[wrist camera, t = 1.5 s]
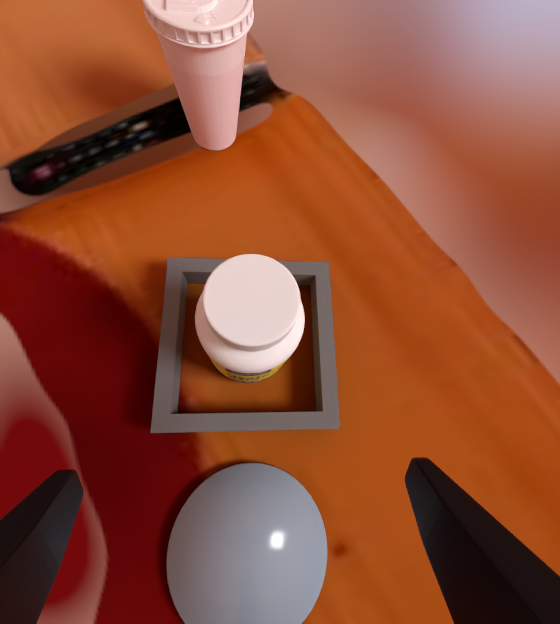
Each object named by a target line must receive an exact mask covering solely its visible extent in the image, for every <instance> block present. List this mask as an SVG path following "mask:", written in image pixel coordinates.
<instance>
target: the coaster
mask: <svg viewBox="0 0 560 624" xmlns="http://www.w3.org/2000/svg"><path fill="white" fill-rule="evenodd" d="M326 565H327V540H326V533H325V528H324V524H323V521H322V518H321V515H320V512H319V510H318V508H317V506H316V504H315V502H314V500H313V499H312V497H311V496H310V494H309V493H308V492H307V490H306V489H305V488H304V487H303V485H302V484H301V483H300V482H299V481H298V480H297V479H295V478H294V477H293V476H292V475H290V474H289V473H287V472H286V471H284V470H282V469H280V468H278V467H275V466H272V465H270V464H265V463H258V462H247V463H239V464H235V465H231V466H229V467H226V468H223V469H221V470H220V471H218V472H216V473H214V474H213V475H211V476H210V477H208V478H207V479H206V480H205V481H203V482H202V483H201V484H200V485H199V486H198V487H197V488H196V489H195V491H194V492H193V493H192V494H191V495H190V497H189V498H188V500H187V501H186V503H185V504H184V506H183V507H182V509H181V511H180V513H179V515H178V517H177V518H176V521H175V524H174V526H173V529H172V532H171V536H170V540H169V545H168V551H167V579H168V584H169V589H170V594H171V597H172V600H173V602H174V605H175V607H176V609H177V611H178V613H179V615H180V617H181V618H182V620H183V621H184V623H185V624H301V623H302V622H303V621H304V620H305V619H306V617H307V616H308V614H309V613H310V611H311V610H312V608H313V606H314V604H315V602H316V600H317V598H318V596H319V593H320V590H321V588H322V585H323V581H324V577H325V572H326Z"/></svg>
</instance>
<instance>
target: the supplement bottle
mask: <svg viewBox="0 0 560 624" xmlns="http://www.w3.org/2000/svg"><path fill="white" fill-rule="evenodd" d="M304 323H305V316H304V309H303V305H302V302H301V299H300V291H299V288H298V285H297V283H296V281H295V279H294V277H293V275H292V274H291V273H290V271H289V270H288V269H287V268H286V267H285V266H283V265H282V264H281V263H279V262H278V261H276V260H274V259H272V258H270V257H267V256H263V255H258V254H244V255H239V256H235V257H232V258H230V259H228V260H226V261H224V262H223V263H221V264H220V265H219V266H218V267H217V268H215V270H214V271H213V272H212V273H211V274H210V276H209V278H208V279H207V281H206V284H205V286H204V290H203V292H202V294H201V296H200V298H199V300H198V303H197V307H196V312H195V326H196V331H197V335H198V338H199V340H200V343H201V345H202V346H203V348H204V350H205V351H206V353H207V355H208V356H209V358H210V359H211V361H212V362H213V364H214V365H215V367H216V368H217V369H218V370H219V372H221V373H222V374H223V375H224V376H226V377H227V378H229V379H231V380H234V381H237V382H241V383H254V382H259V381H262V380H264V379H266V378H268V377H270V376H271V375H273V374H274V373H275V372H276V371H277V370H278V369H279V368H280V367H281V366H282V365H283V364H284V363H285V361H286V360H287V359H288V358H289V357H290V356H291V355H292V354H293V352H294V351H295V349H296V348H297V346H298V344H299V342H300V340H301V337H302V334H303V331H304Z"/></svg>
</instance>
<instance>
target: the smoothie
mask: <svg viewBox="0 0 560 624" xmlns="http://www.w3.org/2000/svg"><path fill="white" fill-rule="evenodd" d="M142 1H143V5H144V11H145V17H146V18H147V20H148V22H149V24H150V26H151V27H152V28H153V29H154V30H155V31H156V32H157V35H158V38H159V41H160V44H161V47H162V50H163V53H164V55H165V58H166V61H167V64H168V67H169V70H170V72H171V75H172V78H173V81H174V84H175V86H176V89H177V92H178V95H179V98H180V101H181V104H182V107H183V110H184V112H185V115H186V118H187V121H188V124H189V127H190V130H191V132H192V135H193V137H194V140H195V141H196V143H197V144H198V145H200V146H201V147H203V148H205V149H208V150H222V149H225V148H227V147H229V146H230V145H231V144H232V143H233V142H234V140H235V138H236V130H237V120H238V112H239V102H240V93H241V84H242V74H243V65H244V56H245V48H246V37H247V32H248V31H249V29H250V27H251V25H252V24H253V17H254V12H253V0H142Z"/></svg>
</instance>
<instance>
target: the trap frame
mask: <svg viewBox="0 0 560 624" xmlns="http://www.w3.org/2000/svg"><path fill="white" fill-rule="evenodd" d="M226 260H228V259H205V258H172V257H168V262H167V272H166V282H165V292H164V302H163V312H162V322H161V332H160V342H159V352H158V362H157V372H156V382H155V392H154V402H153V412H152V422H151V432H150V433H174V432H218V431H261V430H304V429H340V417H339V403H338V388H337V373H336V359H335V344H334V330H333V315H332V300H331V286H330V271H329V262H302V261H278V262H279V263H281V264H282V265H283V266H285V267H286V268H287V269H288V270H289V271H290V273H291V274H292V275H293V277H294V279H295V281H296V283H297V285H298V286H310V294H311V315H312V336H313V357H314V378H315V398H316V411H311V412H254V413H196V414H177V413H178V400H179V387H180V374H181V361H182V348H183V335H184V322H185V309H186V296H187V283H206V281H207V279H208V278H209V276H210V274H211V273H212V272H213V271H214V270H215V268H217V267H218V266H219V265H220V264H221V263H223V262H224V261H226Z"/></svg>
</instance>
